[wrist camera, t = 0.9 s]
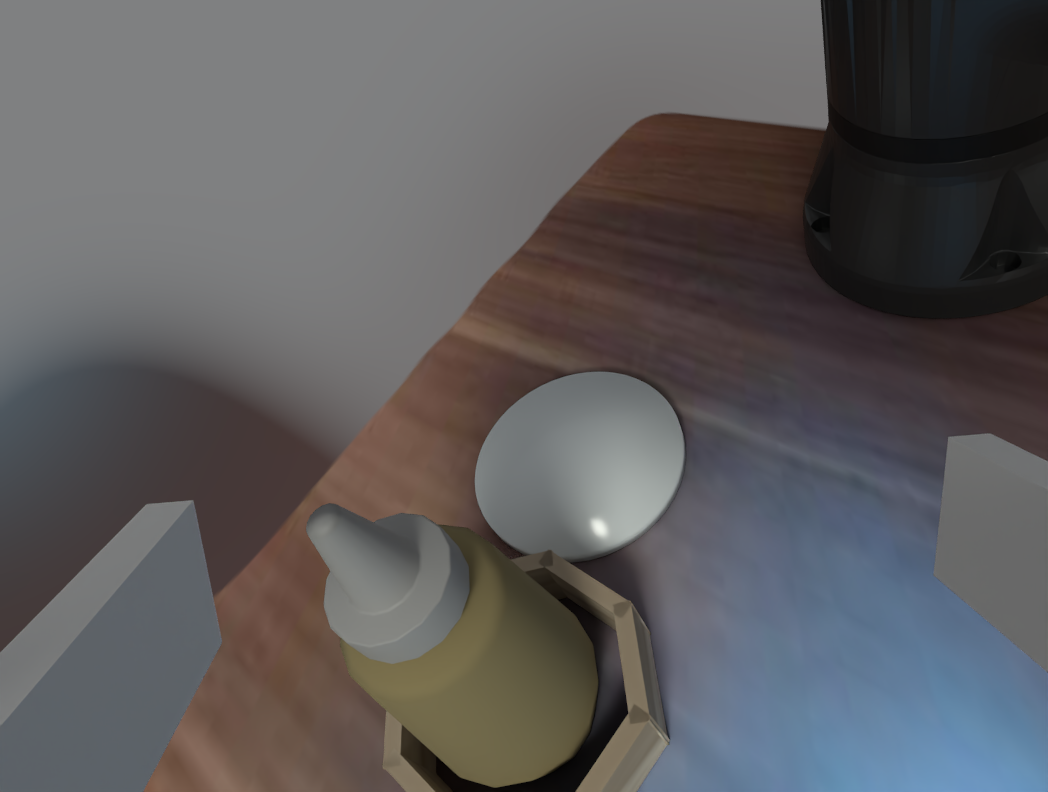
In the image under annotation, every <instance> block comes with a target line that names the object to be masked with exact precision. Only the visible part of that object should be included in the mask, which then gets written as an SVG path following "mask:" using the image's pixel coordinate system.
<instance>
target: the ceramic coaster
mask: <svg viewBox="0 0 1048 792" xmlns="http://www.w3.org/2000/svg"><path fill="white" fill-rule="evenodd" d="M685 463H686V446H685V440H684V435H683V432H682V430H681V427H680V424H679V421H678V418H677V416H676V414H675V412H674V410H673V408H672V407H671V405H670V404H669V403H668V401H667V400H666V399H665V398H664V397H663V396H662V395H661V394H660V393H659V392H658V391H657V390H655V389H654V388H652V387H651V386H650V385H648V384H646V383H644V382H642V381H640V380H638V379H636V378H633V377H630V376H627V375H623V374H618V373H613V372H585V373H578V374H573V375H569V376H565V377H562V378H559V379H556V380H553V381H551V382H548V383H546V384H544V385H542V386H540V387H538V388H536V389H535V390H533V391H531V392H529V393H528V394H527V395H525V396H524V397H522V398H521V399H519V400H518V401H517V402H516V403H515V404H514V405H512V406H511V407H510V408H509V409H508V410H507V411H506V412H505V413H504V414H503V415H502V416H501V417H500V419H499V420H498V421H497V423H496V424H495V425H494V427H493V428H492V430H491V431H490V433H489V434H488V436H487V438H486V440H485V442H484V444H483V446H482V448H481V451H480V454H479V457H478V461H477V466H476V471H475V490H476V497H477V501H478V504H479V507H480V509H481V512H482V514H483V516H484V518H485V519H486V521H487V522H488V524H489V525H490V527H491V528H492V529H493V530H494V531H495V533H496V534H497V535H498V536H499V537H500V538H501V539H502V540H503V541H504V542H505V543H506V544H508V545H509V546H510V547H511V548H513V549H515V550H516V551H518V552H520V553H522V554H524V555H526V556H527V555H531V554H536V553H540V552H544V551H547V550H548V549H549V550H552V551H553V552H554V553H555V554H557V555H558V556H560V557H561V558H563V559H564V560H566V561H567V562H569V563H574V562H582V561H588V560H593V559H596V558H600V557H603V556H606V555H609V554H611V553H613V552H616V551H618V550H620V549H622V548H624V547H625V546H627V545H629V544H631V543H632V542H634V541H635V540H637V539H638V538H639V537H641V536H642V535H644V534H645V533H646V532H647V531H648V530H649V529H650V528H651V527H653V526H654V525H655V524H656V523H657V522H658V521H659V519H660V518H661V517H662V516H663V514H664V513H665V512H666V511H667V509H668V508H669V506H670V505H671V503H672V501H673V500H674V498H675V496H676V494H677V492H678V490H679V487H680V485H681V482H682V478H683V475H684V470H685Z"/></svg>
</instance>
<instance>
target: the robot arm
mask: <svg viewBox="0 0 1048 792" xmlns="http://www.w3.org/2000/svg"><path fill="white" fill-rule="evenodd" d="M821 10H822V25H823V40H824V54H825V69H826V84H827V97H828V116H829V123H828V126H827V129H826V132H825V135H824V139H823V142H822V145H821V148H820V151H819V154H818V157H817V161H816V164H815V167H814V170H813V173H812V176H811V179H810V183H809V186H808V189H807V192H806V195H805V200H804V207H803V224H804V234H805V244H806V249H807V253H808V256H809V259H810V261H811V263H812V265H813V266H814V268H815V270H816V271H817V272H818V274H819V275H820V276H821V277H822V278H823V279H824V280H825V281H826V282H827V283H828V284H829V285H830V286H831V287H833V288H834V289H835V290H837V291H838V292H840V293H841V294H843V295H845V296H846V297H848V298H850V299H852V300H854V301H856V302H858V303H861V304H863V305H865V306H868V307H871V308H874V309H877V310H881V311H884V312H888V313H893V314H898V315H903V316H911V317H920V318H963V317H972V316H980V315H986V314H991V313H996V312H1000V311H1004V310H1008V309H1012V308H1015V307H1018V306H1021V305H1024V304H1027V303H1029V302H1032V301H1035V300H1037V299H1039V298H1041V297H1044V296H1046V295H1048V0H821ZM934 576H935V577H936V578H937V579H939V580H940V581H941V582H942V583H943V584H944V585H946V586H947V587H948V588H949V589H950V590H951V591H953V592H954V593H955V594H956V595H957V596H959V597H960V598H961V599H962V600H963V601H964V602H966V603H967V604H968V605H969V606H970V607H971V608H973V609H974V610H975V611H976V612H977V613H978V614H980V615H981V616H982V617H983V618H984V619H986V620H987V621H988V622H989V623H990V624H991V625H993V626H994V627H995V628H996V629H997V630H998V631H1000V632H1001V633H1002V634H1003V635H1004V636H1006V637H1007V638H1008V639H1009V640H1010V641H1011V642H1013V643H1014V644H1015V645H1016V646H1017V647H1018V648H1020V649H1021V650H1022V651H1023V652H1024V653H1025V654H1027V655H1028V656H1029V657H1030V658H1031V659H1033V660H1034V661H1035V662H1036V663H1037V664H1038V665H1040V666H1041V667H1042V668H1043V669H1044V670H1045V671H1047V672H1048V461H1046V460H1044V459H1042V458H1040V457H1038V456H1036V455H1033V454H1031V453H1029V452H1027V451H1025V450H1023V449H1021V448H1019V447H1017V446H1015V445H1013V444H1011V443H1009V442H1007V441H1005V440H1003V439H1001V438H999V437H997V436H995V435H993V434H990V433H988V434H976V435H964V436H953V437H948V446H947V455H946V465H945V474H944V483H943V492H942V502H941V511H940V520H939V530H938V539H937V548H936V557H935V567H934ZM221 643H222V639H221V634H220V629H219V625H218V620H217V615H216V610H215V605H214V600H213V595H212V590H211V585H210V580H209V576H208V571H207V566H206V561H205V556H204V551H203V546H202V542H201V536H200V531H199V526H198V521H197V517H196V511H195V507H194V502H193V500H191V501H179V502H168V503H156V504H146V506H144V508H142V509H141V510H140V512H138V513H137V515H136V516H135V517H134V518H133V519H132V520H131V521H130V522H129V523H128V524H127V525H126V526H125V527H124V528H123V529H122V530H121V531H120V532H119V533H118V534H117V535H116V536H115V537H114V538H113V539H112V540H111V541H110V542H109V543H108V544H107V545H106V546H105V547H104V548H103V549H102V550H101V551H100V552H99V553H98V554H97V555H96V556H95V557H94V558H93V559H92V560H91V561H90V562H89V563H88V564H87V565H86V566H85V567H84V568H83V570H81V571H80V572H79V573H78V574H77V575H76V576H75V577H74V578H73V579H72V580H71V581H70V582H69V583H68V584H67V586H66V587H65V588H64V589H63V590H62V591H61V592H60V593H59V594H58V595H57V596H56V597H55V598H54V599H53V600H52V601H51V602H50V603H49V604H48V605H47V606H46V607H45V608H44V609H43V610H42V611H41V612H40V613H39V614H38V615H37V616H36V617H35V618H34V619H33V620H32V621H31V622H30V623H29V624H28V625H27V626H26V627H25V628H24V629H23V630H22V631H21V632H20V633H19V634H18V635H17V636H16V637H15V638H14V639H13V640H12V641H11V642H10V643H9V644H8V645H7V646H6V647H5V649H3V651H2V652H0V792H143V790H144V789H145V787H146V785H147V783H148V781H149V779H150V777H151V775H152V773H153V772H154V770H155V768H156V766H157V764H158V762H159V760H160V758H161V756H162V755H163V753H164V751H165V749H166V747H167V745H168V743H169V741H170V739H171V738H172V736H173V734H174V732H175V730H176V728H177V726H178V724H179V722H180V721H181V719H182V717H183V715H184V713H185V711H186V709H187V707H188V705H189V704H190V702H191V700H192V698H193V696H194V694H195V692H196V690H197V688H198V687H199V685H200V683H201V681H202V679H203V677H204V675H205V673H206V671H207V670H208V668H209V666H210V664H211V662H212V660H213V658H214V656H215V655H216V653H217V651H218V649H219V647H220V645H221Z"/></svg>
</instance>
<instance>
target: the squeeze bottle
mask: <svg viewBox="0 0 1048 792" xmlns="http://www.w3.org/2000/svg"><path fill="white" fill-rule="evenodd" d="M306 531H307V534H308V536H309V538H310V539H311V541H312V542H313V544H314V545H315V547H316V549H317V550H318V552H319V553H320V555H321V556H322V558H323V560H324V561H325V563H326V564H327V566H328V567H329V569H330V573H329V575H328V578H327V580H326V588H325V597H324V609H325V612H326V615H327V618H328V621H329V625H330V628H331V629H332V630H333V631H334V632H335V633H336V634H338V635H339V636H340V637H341V640H340V647H341V650H342V653H343V656H344V659H345V662H346V665H347V669H348V672H349V675H350V676H351V677H352V678H353V679H354V680H355V681H356V682H357V683H358V684H359V685H360V686H361V687H362V688H363V689H364V690H365V691H366V692H367V693H368V694H369V695H370V696H371V697H372V698H373V699H375V700H376V701H377V702H378V703H379V704H380V705H381V706H382V707H383V708H384V709H385V710H387V711H388V712H389V713H390V714H391V715H392V716H393V717H394V718H395V719H396V720H398V721H399V722H400V723H401V724H402V725H403V726H404V727H405V728H406V729H407V730H409V731H410V732H411V733H412V734H413V735H414V736H415V737H416V738H417V739H418V740H419V741H421V742H422V743H423V744H424V745H425V746H426V747H427V748H428V749H429V750H430V751H432V752H433V753H434V754H435V755H436V756H437V757H438V758H439V759H440V760H441V761H443V762H444V763H445V764H446V765H447V766H448V767H449V768H450V769H451V770H452V771H454V772H455V773H456V774H457V775H458V776H459V777H460V778H463V779H467V780H470V781H473V782H477V783H480V784H484V785H487V786H490V787H494V788H496V787H501V786H507V785H512V784H517V783H522V782H528V781H533V780H535V779H538V778H540V777H542V776H545V775H547V774H550V773H552V772H554V771H555V770H557V769H558V768H560V767H561V766H562V765H564V764H565V763H567V762H568V761H570V760H571V759H572V758H574V757H575V756H576V754H577V753H578V751H579V749H580V748H581V746H582V745H583V743H584V742H585V740H586V739H587V737H588V736H589V734H590V731H591V727H592V722H593V718H594V713H595V709H596V702H597V692H598V675H597V668H596V661H595V654H594V647H593V644H592V642H591V640H590V639H589V637H588V635H587V634H586V632H585V630H584V629H583V627H582V626H581V624H580V622H579V621H578V619H577V617H576V616H575V615H574V614H573V613H572V612H571V611H570V610H569V609H567V608H566V607H565V606H564V605H563V604H562V603H560V602H559V601H558V600H557V599H556V598H555V597H553V596H552V595H551V594H550V593H549V592H548V591H546V590H545V589H544V588H543V587H542V586H541V585H539V584H538V583H537V582H536V581H535V580H534V579H532V578H531V577H530V576H529V575H528V574H527V573H525V572H524V571H523V570H522V569H521V568H519V567H518V566H517V565H516V564H515V563H514V562H512V561H511V560H510V559H509V558H508V557H507V556H505V555H504V554H503V553H502V552H501V551H500V550H498V549H497V548H496V547H495V546H494V545H493V544H491V543H490V542H488V541H487V540H485V539H484V538H482V537H481V536H479V535H478V534H476V533H475V532H473V531H471V530H470V529H468V528H464V527H455V526H447V525H437V524H436V523H434V522H433V521H431V520H430V519H428V518H427V517H425V516H424V515H415V514H406V513H400V514H396V515H393V516H389V517H386V518H382V519H379V520H377V521H375V522H371V521H369V520H367V519H365V518H363V517H361V516H359V515H357V514H355V513H353V512H351V511H349V510H347V509H345V508H343V507H340V506H338V505H336V504H330V503H329V504H326V505H322V506H321V507H319V508H318V509H316V510H315V511H314V512H313V514H312V515H311V516H310V518H309V520H308V522H307V527H306Z"/></svg>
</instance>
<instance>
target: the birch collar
mask: <svg viewBox="0 0 1048 792" xmlns="http://www.w3.org/2000/svg"><path fill="white" fill-rule="evenodd" d="M511 561H512V562H514V563H515V564H516V565H517V566H518V567H519V568H521V569H522V570H523V571H524V572H525V573H527V574H528V575H529V576H530V577H531V578H532V579H534V580H535V581H536V582H537V583H538V584H539V585H541V586H542V587H543V588H544V589H545V590H546V591H548V592H549V593H550V594H551V595H552V596H553V597H555V598H556V599H557V600H559V599H563V598H569V599H570V600H572V601H573V602H575V603H576V604H578V605H579V606H581V607H582V608H584V609H585V610H586V611H588V612H589V613H591V614H592V615H594V616H595V617H597V618H598V619H600V620H601V621H602V622H604V623H605V624H607V625H608V626H610V627H611V628H613V629H614V630H616V631H617V638H618V645H619V651H620V658H621V665H622V672H623V678H624V685H625V692H626V699H627V706H628V712H629V713H628V715H627V716H626V718H625V719H624V721H623V722H622V724H621V725H620V727H619V728H618V730H617V731H616V733H615V734H614V735H613V737H612V738H611V740H610V741H609V743H608V744H607V746H606V747H605V749H604V750H603V752H602V753H601V755H600V756H599V758H598V759H597V761H596V762H595V764H594V765H593V767H592V768H591V770H590V771H589V773H588V774H587V775H586V777H585V778H584V780H583V781H582V783H581V784H580V786H579V787H578V789H577V790H576V792H637V790H638V789H639V787H640V786H641V784H642V783H643V781H644V780H645V778H646V776H647V775H648V773H649V772H650V770H651V769H652V767H653V766H654V764H655V763H656V761H657V759H658V758H659V756H660V755H661V753H662V752H663V750H664V749H665V747H666V746H667V745H669V741H670V740H669V738H668V735H667V730H666V724H665V719H664V713H663V707H662V702H661V696H660V690H659V685H658V679H657V673H656V668H655V662H654V656H653V651H652V645H651V639H650V635H651V633H650V631H649V630H648V628H647V626H646V625H645V623H644V622H643V620H642V618H641V617H640V615H639V613H638V612H637V610H636V608H635V607H634V605H633V604H632V602H631V601H628V600H626V599H625V598H623V597H621V596H620V595H618V594H617V593H615V592H614V591H612V590H611V589H609V588H608V587H606V586H604V585H603V584H601V583H600V582H598V581H597V580H595V579H594V578H592V577H591V576H589V575H587V574H586V573H584V572H583V571H581V570H580V569H578V568H577V567H575V566H574V565H572V564H570V563H569V562H567V561H566V560H564V559H563V558H561V557H560V556H558V555H557V554H555V553H554V552H553V551H552V550H549V549H548V550H547V551H544V552H540V553H536V554H531V555H527V556H523V557H519V558H515V559H511ZM382 765H383V769H385V770H387V771H388V772H389V773H390V774H391V775H392V776H393V778H394V779H395V780H396V781H397V782H398V783H399V784H400V785H401V786H402V788H403V789H404V790H405V791H406V792H453V791H452V790H451V789H450V788H449V787H448V786H447V785H446V783H445V782H444V781H443V780H442V779H441V778H440V777H439V776H438V775H437V774H436V755H435V754H434V753H433V752H432V751H430V750H429V749H428V748H427V747H426V746H425V745H424V744H423V743H422V742H421V741H419V740H418V739H417V738H416V737H415V736H414V735H413V734H412V733H411V732H410V731H409V730H407V729H406V728H405V727H404V726H403V725H402V724H401V723H400V722H399V721H398V720H396V719H395V718H394V717H393V716H392V715H391V714H390V713H389V712H388V711H387V710H386V724H385V741H384V758H383V763H382Z"/></svg>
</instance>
